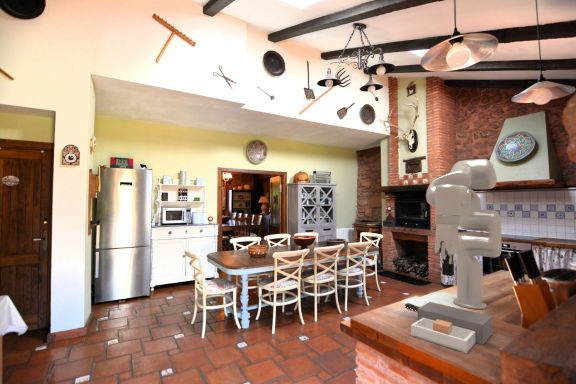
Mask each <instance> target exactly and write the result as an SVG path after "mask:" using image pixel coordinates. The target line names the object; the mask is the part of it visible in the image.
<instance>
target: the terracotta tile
mask: <svg viewBox="0 0 576 384" xmlns="http://www.w3.org/2000/svg"><path fill="white" fill-rule="evenodd" d="M433 331H437V332H440V333H444V334H447V335H449V334H450V333H451V332H452V323H451V322H447V321H443V320H439V319H437V320H436V321H434V322H433Z"/></svg>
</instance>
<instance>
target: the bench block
mask: <svg viewBox="0 0 576 384" xmlns="http://www.w3.org/2000/svg"><path fill="white" fill-rule="evenodd" d="M419 307H420V308H418V312H417V321H418V320H420V319H421V318H427V319H430V320H434V321H436V320H437V319H439V320H443V321H447V322H451V323H452V325H453V326H456V327H460V328H464V329H467V330H471V331H475V336H476V343H475V344H479V345H482V346H484V345H485V343H486V342H487V341H488V340H489V339H490V337H491V336H492V335H491V333H493V331H492V330H493V328H492V326H493V325H492V323H493V322H492V320H493V319H492V315H488V314H484V313H481V312H480V313H479V312H474V311H470V310H466V309H463V308H458V307H454V306H449V305H445V304H442V303H441V304H440V303H436V302H432V301H428V302H427V303H425V304H424V305H422V306H419ZM490 335H491V336H490ZM489 336H490V337H489ZM487 339H488V340H487Z"/></svg>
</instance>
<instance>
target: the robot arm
mask: <svg viewBox="0 0 576 384" xmlns="http://www.w3.org/2000/svg"><path fill="white" fill-rule="evenodd" d="M497 177H498V176H497V173H496V170H495V166H494V165H493V163H492V162H491V160H490V159H489V160H488V159H486V158H480V159H465V160H459V161H457V162H455V164H453V166H452V168H451V170H450V171H449V173H447V174H445V175H442V176H440V177H437V178H435V179H434V180H432V181H431V182H430V184H429V185H428V188H427V189H426V193H425V194H426V195H425V197H426V198H425V199H426V202H427V203H428V204H429V205H430V206H432V207H433V206H434V212H435V213H434V214H435V216H434V217H435V218H434V219H435V220H434V221H435V223H434V224H435V225H436V227H435V237H434V254H436V255H440V259H441V273H442V274H441V275H442V276H448V277H453V276H454V275H455V264H454V263H455V255H456V298H453V301H452V302H453V304H455V305H457V306H460V307H462V308H466V309H472V310H485V309H487V304H486V303H485V302H483V270H482V269H483V267H482V263H481V262H480V261H479V259H478V258H477V257H488V258H498V257H500V256H501V253H502V220H501V215H500V213H499V212H498V211H496V210H493V209H481V197H480V196H479V195H478V194H477V193H476V192H475V191H474V190H488V189H489V190H491V189H493V188H494V187H496V185H497V182H498V178H497ZM458 226H459V227H460V229H462V230H465V231H472V232H475V231H476V232H486V233H488V234H482V233H480V234H479V233H469V232H467V233H466V232H465V233H464V232H463V233H459V228H458ZM476 256H477V257H476Z"/></svg>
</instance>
